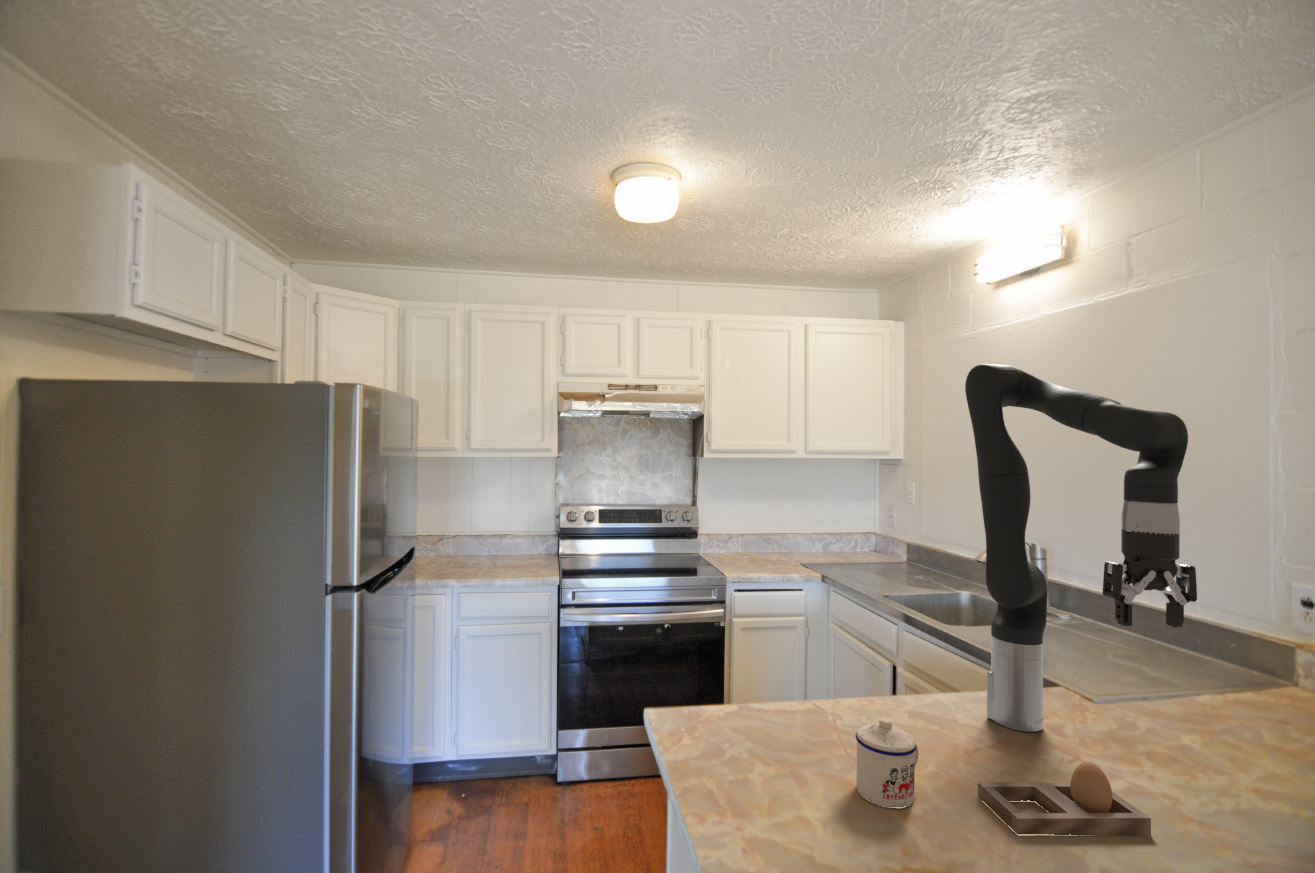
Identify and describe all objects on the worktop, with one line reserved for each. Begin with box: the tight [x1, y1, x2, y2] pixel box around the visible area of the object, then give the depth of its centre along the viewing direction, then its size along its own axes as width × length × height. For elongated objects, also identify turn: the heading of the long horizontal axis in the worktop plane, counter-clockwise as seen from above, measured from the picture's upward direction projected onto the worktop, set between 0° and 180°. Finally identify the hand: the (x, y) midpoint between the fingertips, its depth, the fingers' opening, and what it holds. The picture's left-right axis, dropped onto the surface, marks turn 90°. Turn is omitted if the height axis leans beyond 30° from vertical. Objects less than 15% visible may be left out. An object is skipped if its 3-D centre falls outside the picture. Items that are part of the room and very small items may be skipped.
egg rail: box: [977, 781, 1152, 837], centre depth 89 cm, size 20×10×2 cm, turn 93°
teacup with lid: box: [855, 717, 919, 807], centre depth 95 cm, size 12×9×12 cm
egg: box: [1070, 761, 1113, 813], centre depth 90 cm, size 5×5×8 cm
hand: (1149, 625), depth 98 cm, fingers open, 8 cm apart
